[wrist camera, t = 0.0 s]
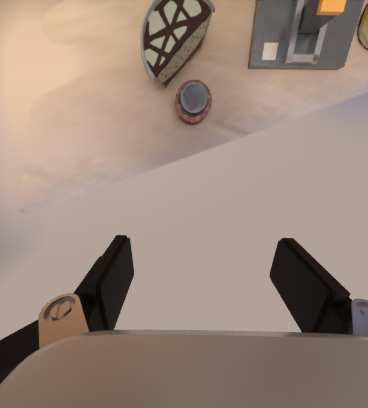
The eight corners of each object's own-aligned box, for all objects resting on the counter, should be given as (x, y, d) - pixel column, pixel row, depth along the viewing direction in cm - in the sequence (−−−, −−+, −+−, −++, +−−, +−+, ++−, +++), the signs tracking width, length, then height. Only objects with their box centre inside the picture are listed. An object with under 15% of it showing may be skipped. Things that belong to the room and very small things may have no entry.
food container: (185, 7, 29) (185, -52, 20) (208, 40, 31) (217, 1, 22) (137, 66, 33) (118, 39, 23) (160, 94, 34) (151, 79, 25)
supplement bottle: (212, 107, 35) (223, 95, 24) (193, 131, 37) (196, 129, 26) (190, 85, 34) (192, 62, 23) (171, 111, 35) (165, 101, 25)
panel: (259, -22, 28) (266, -37, 25) (363, -20, 28) (380, -36, 25) (248, 68, 32) (253, 62, 30) (337, 69, 32) (349, 64, 30)
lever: (300, 8, 28) (328, -22, 23) (320, 8, 28) (352, -21, 23) (295, 34, 29) (320, 11, 24) (314, 34, 29) (343, 11, 24)
